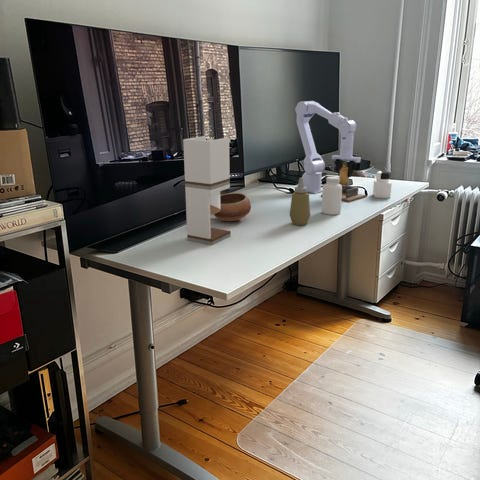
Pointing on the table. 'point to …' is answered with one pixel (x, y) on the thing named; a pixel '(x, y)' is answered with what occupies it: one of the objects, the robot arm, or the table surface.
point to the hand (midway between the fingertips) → (344, 176)
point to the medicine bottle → (382, 185)
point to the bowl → (233, 207)
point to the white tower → (205, 186)
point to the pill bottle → (331, 196)
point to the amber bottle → (344, 174)
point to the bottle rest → (350, 194)
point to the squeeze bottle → (300, 205)
